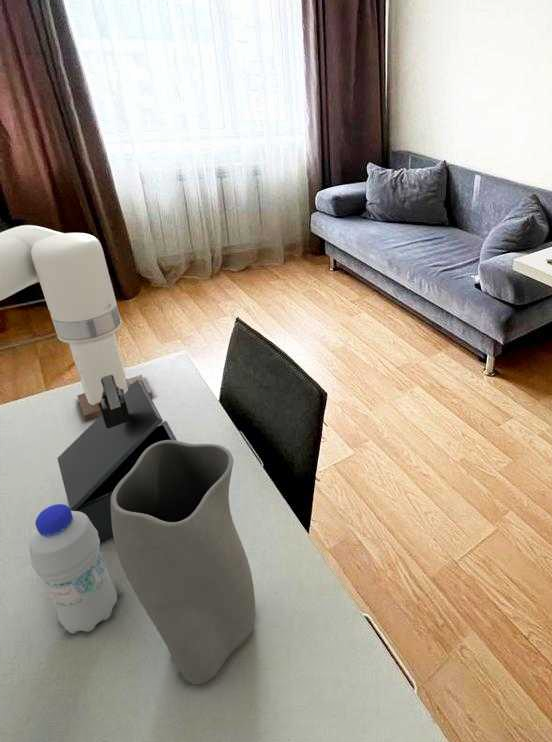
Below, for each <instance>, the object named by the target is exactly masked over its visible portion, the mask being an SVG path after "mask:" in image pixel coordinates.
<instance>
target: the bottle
mask: <svg viewBox="0 0 552 742" xmlns="http://www.w3.org/2000/svg"><path fill="white" fill-rule="evenodd" d="M35 527H36V528H35V530H34V531H33V532H32V533H31V535H30V538H29V541H28V549H29V554H30V560H31V567H32V568H33V569H34V570H35V573H36V575H37V576H38V577H39V578H40V579H43V581H44V583H45V586H46V588H47V591H48V592H49V595H50V597H51V600H52V601H53V603H54V604H53V605H54V608H55V610H56V611H55V612H56V614H57V616H58V617H57V618H58V620H59V622H60V624H61V626H62V627H63V628H64V629H65V630H66V631H67V632H69V633H70V634H76V633H78V632H81V631H82V632H86V633H89V632H91V631H93V630H95V628H96V626H97V625H98V624H99V623H100V622H102V621H107V620H108V619H109V618H110V617H111V615H112V611H113V608H114V606H115V605H116V604H117V601H118V594H117V589H116V586H115V584H114V581H113V579H112V578H111V576H110V573H109V572H108V569H107V566H106V564H105V561H104V558H103V556H102V552H101V550H100V545H101V543H100V539H99V537H98V532H97V530H96V529H95V527H94V526H93V524H92V523H91V521H90V520H89V518H88V517H87V515H86V514H84V513H82V512H79V511H73V510H70V507H69V505H66V504H64V503H57V504H51V505H49V506H47V507H46V508H44V509H43V510H42V511H41V512H40V513H39V514H38V515H37V517H36V518H35Z"/></svg>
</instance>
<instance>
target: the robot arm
mask: <svg viewBox="0 0 552 742" xmlns="http://www.w3.org/2000/svg"><path fill="white" fill-rule="evenodd" d="M103 249H104V248H103V247H102V244H101V242H100V240H99V239H98V238H96V237H95V236H94V235H91V234H89V233H85V232H66V233H65V232H61V231H56V230H53V229H50V228H47V227H42V226H38V225H32V224H24V225H23V224H22V225H19V226H14V227H12V228H8V229H6V230H4V231H1V232H0V301H3V300H5V299H7V298H9V297H10V296H13V295H15V294H16V293H18V292H20V291H22V290H24V289H26V288H27V287H30V286H32V285H35V284H37V283H39V284H40V287H41V291H42V292H43V296H44V300H45V302H46V306H47V308H48V312H49V315H50V317H51V321H52V323H53V324H52V325H53V327H54V330H55V333H56V337H57V339H58V340H59V341H60V342H62V343H64V344H65V343H66V344H68V346H69V348H70V353H71V355H72V359H73V361H74V364H75V365H74V366H75V368H76V371H77V374H78V378H79V380H80V383H81V386H82V389H83V393H85V395H86V397H87V400H88V402H89V403H90V404H92V405H95V404H96V403H99V402H101V403H99V406H100V410H101V413H102V416H103V419H104V422H105V425H106V428H112V427H114V426H117V425H120V424H122V423H125V422H128V421H129V420H130V416H129V412H128V409H127V405H126V402H125V399H124V397H123V395H122V393H124V394H126V392H127V391H128V388H127V383H126V379H127V377H126V373H125V369H124V365H123V360H122V356H121V353H120V352H121V351H120V348H119V345H118V341H117V337H116V334H115V333H116V332H117V331H119V330H120V328H121V327H122V324H123V322H122V319H121V315H120V310H119V307H118V304H117V300H116V296H115V292H114V291H115V290H114V287H113V283H112V280H111V276H110V273H109V269H108V265H107V261H106V258H105V254H104V253H105V252H104V250H103Z"/></svg>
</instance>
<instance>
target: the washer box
mask: <svg viewBox="0 0 552 742" xmlns="http://www.w3.org/2000/svg"><path fill="white" fill-rule="evenodd" d="M164 440H176V441H178V439H177V437H176V436H175V434H174V432H173V430H172V428H171V426H170V425H169V422H168V421H167V420H163V421H162V422H161V423H160V424H159V425H158V426H157V427H156V428H155V429H154V430H153V431H152V432H151V433H150V434H149V436H148V437H147V438H146V439H145V440H144V441H143V442H142V443H141V444H140V445H139V446H138V447H137V448H136V449H135V450H134V451H133V452H132V453H131V454H130V455H129V456H128V457H127V458H126V459H125V460H124V461H123V462H122V463H121V464H120V465H119V466H118V467H117V468H116V469H115V470H114V471H113V473H112V474H111V475H110V476H109V477H108V478H107V479H106V480H105V481H104V482H103V483H102V484H101V485H100V486H99V487H98V488H97V489H96V490H95V491H94V492H93V493H92V494H91V495H90V496H89V497H88V498H87V499H86V500H85V501H84V502H83V503H82V504H81V505H80V506H79V507H78V508H77V510H76V511H79V512H82V513H84V514H86V515H87V517H88V518H89V520H90V521H91V523H92V524H93V526H94V527H95V529H96V530H97V532H98V537H99V539H100V544H102V543H105V542H106V541H108V540H110V539H114V537H113V530H112V521H111V495H112V493H113V491H114V489H115V487H116V486H117V485H118V483H119V482H120V481H121V480H122V479H123V478H124V477H125V476H126V475H127V474H128V473H129V471H130V470H131V469H132V468H133V467H134V465H135V464H136V462H137V460H138V459H139V457H140V456H141V455H142V453H143V452H144V451H145V450H146V449H147V448H148V447H150V446H151V445H153V444H154V443H157V442H160V441H164Z"/></svg>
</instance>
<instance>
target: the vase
mask: <svg viewBox="0 0 552 742" xmlns="http://www.w3.org/2000/svg"><path fill="white" fill-rule="evenodd" d="M233 467H234V456H233V454H232V453H231V451H230V450H229V449H228V448H226V447H225V446H223V445H220V444H214V443H190V442H184V441H181V440H177V441H176V440H164V441H160V442H157V443H154V444H153V445H151V446H150V447H148V448H147V449H146V450H145V451H144V452H143V453H142V455H141V456H140V457H139V459H138V460H137V462H136V464H135V465H134V467H133V468H132V469H131V470H130V471H129V473H128V474H127V475H126V476H125V477H124V478H123V479H122V480H121V481H120V482H119V483H118V485H117V486H116V487H115V489H114V491H113V493H112V495H111V521H112V530H113V543H114V546H115V551H116V553H117V556H118V560H119V563H120V565H121V567H122V569H123V571H124V574H125V576H126V578H127V580H128V582H129V584H130V586H131V588H132V590H133V593H135V595H136V597H137V599H138V600H139V602H140V604H141V605H142V607H143V609H144V610H145V612H146V614H147V616H148V618H149V619H150V621H151V622H152V623H153V626H154V627H155V629H156V630H157V632H158V634H159V636H160V637H161V639H162V640H163V642H164V644H165V646H166V647H167V649H168V651H169V653H170V654H171V656H172V659H173V660H174V663H175V665H176V666H177V668H178V670H179V673H180V674H181V676H182V677H183V678H184V679H185V680H186V681H187V682H188V683H190V684H192V685H195V686H196V685H203V684H206V683H208V682H210V680H212V679H213V678H214V677H215V676H217V674H218V673H219V672H220V671H221V669H222V667H223V666H224V664H225V662H226V661H227V660H228V658H229V656H230V655H231V654H233V652H234V651H235V650H236V649H238V647H240V646H241V645H242V644H243V643H244V642H245V641H246V640H247V638H248V637H249V635H250V634H251V632H252V630H253V629H254V626H255V623H256V622H255V621H256V616H257V615H256V597H255V586H254V581H253V576H252V575H253V574H252V571H251V567H250V564H249V560H248V557H247V553H246V551H245V549H244V546H243V543H242V540H241V538H240V535H239V533H238V531H237V528H236V525H235V522H234V520H233V516H232V514H231V507H230V498H229V497H230V485H231V484H230V483H231V477H232V472H233Z"/></svg>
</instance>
